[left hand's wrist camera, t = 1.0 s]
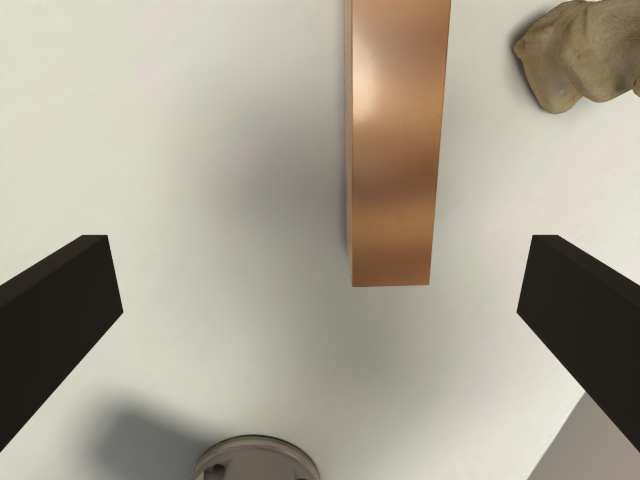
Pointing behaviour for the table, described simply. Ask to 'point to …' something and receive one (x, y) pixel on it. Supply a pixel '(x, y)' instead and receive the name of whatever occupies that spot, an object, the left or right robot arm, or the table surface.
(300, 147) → the table surface
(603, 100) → the sculpture
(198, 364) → the table surface
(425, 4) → the bar
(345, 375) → the table surface
